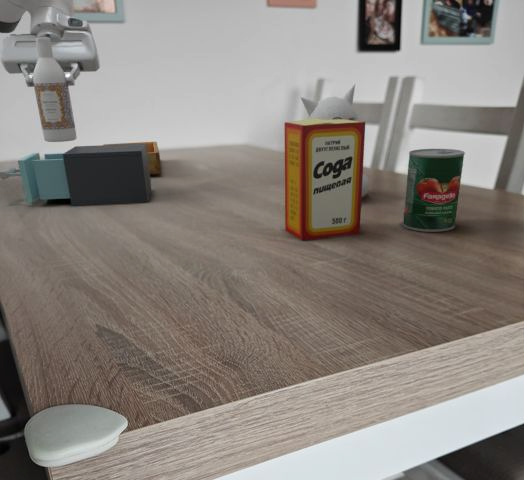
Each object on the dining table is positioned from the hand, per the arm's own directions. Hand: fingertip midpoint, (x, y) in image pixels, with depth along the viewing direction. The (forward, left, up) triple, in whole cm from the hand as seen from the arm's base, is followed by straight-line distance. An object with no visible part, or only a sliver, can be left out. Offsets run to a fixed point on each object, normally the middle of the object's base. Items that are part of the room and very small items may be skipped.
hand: (50, 84), depth 118 cm
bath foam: (0, +1, -12) cm, 12 cm away
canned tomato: (+65, -52, -21) cm, 86 cm away
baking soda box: (+48, -52, -21) cm, 74 cm away
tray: (+12, +23, -21) cm, 34 cm away
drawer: (+1, -16, -20) cm, 26 cm away
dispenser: (+12, -16, -21) cm, 29 cm away
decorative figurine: (+55, -27, -21) cm, 65 cm away
